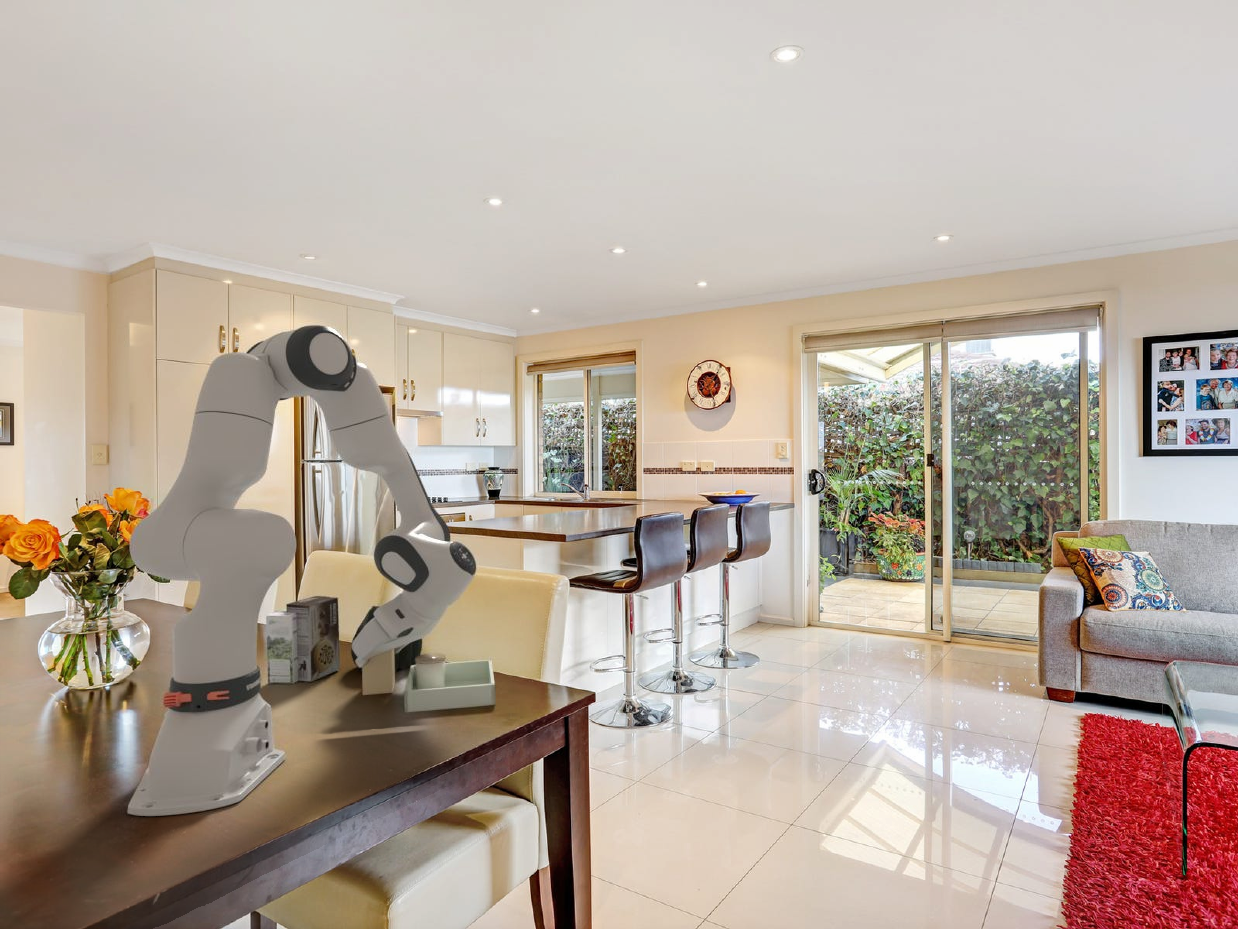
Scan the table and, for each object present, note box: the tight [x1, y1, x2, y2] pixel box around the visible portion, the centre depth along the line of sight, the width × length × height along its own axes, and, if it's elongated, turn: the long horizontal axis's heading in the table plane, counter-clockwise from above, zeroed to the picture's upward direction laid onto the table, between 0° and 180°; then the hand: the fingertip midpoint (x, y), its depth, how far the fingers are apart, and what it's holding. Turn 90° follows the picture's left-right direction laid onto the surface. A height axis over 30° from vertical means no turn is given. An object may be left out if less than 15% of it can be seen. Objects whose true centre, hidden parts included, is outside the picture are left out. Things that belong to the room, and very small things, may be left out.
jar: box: [415, 652, 446, 690], centre depth 143 cm, size 6×6×6 cm
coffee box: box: [285, 595, 341, 683], centre depth 155 cm, size 9×6×16 cm
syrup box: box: [265, 609, 299, 685], centre depth 152 cm, size 6×6×14 cm
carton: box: [361, 626, 396, 696], centre depth 142 cm, size 6×6×13 cm
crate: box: [403, 659, 496, 713], centre depth 139 cm, size 17×16×4 cm
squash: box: [350, 605, 423, 673], centre depth 158 cm, size 14×15×15 cm
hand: (376, 657), depth 143 cm, fingers open, 8 cm apart
